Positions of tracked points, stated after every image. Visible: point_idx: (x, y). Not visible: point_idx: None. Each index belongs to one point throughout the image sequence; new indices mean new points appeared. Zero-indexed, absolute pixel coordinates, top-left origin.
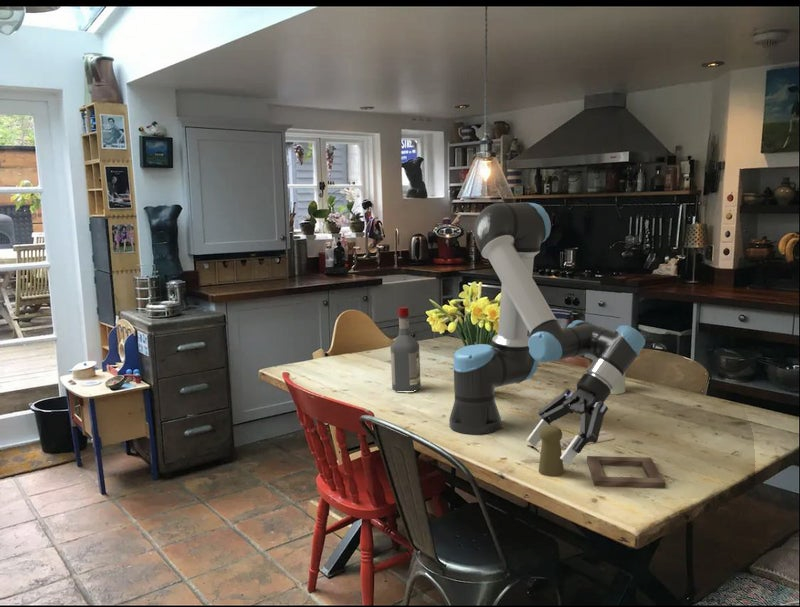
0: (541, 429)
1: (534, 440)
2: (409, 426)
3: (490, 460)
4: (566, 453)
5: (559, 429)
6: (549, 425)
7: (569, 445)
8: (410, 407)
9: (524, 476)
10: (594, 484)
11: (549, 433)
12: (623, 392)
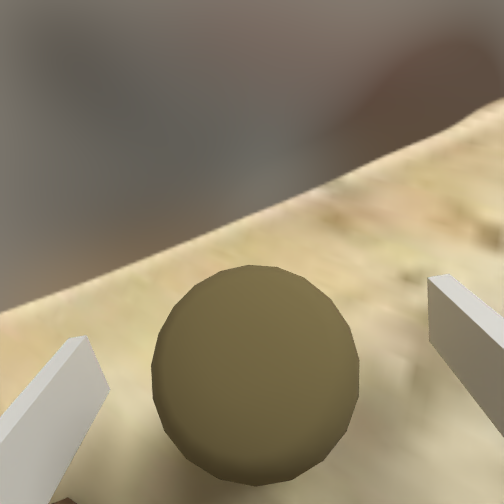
0: (269, 269)
1: (443, 330)
2: None
3: (474, 181)
4: (46, 370)
5: (181, 434)
6: (325, 382)
7: (22, 406)
8: None
9: (269, 252)
10: (64, 499)
11: (174, 306)
12: None
